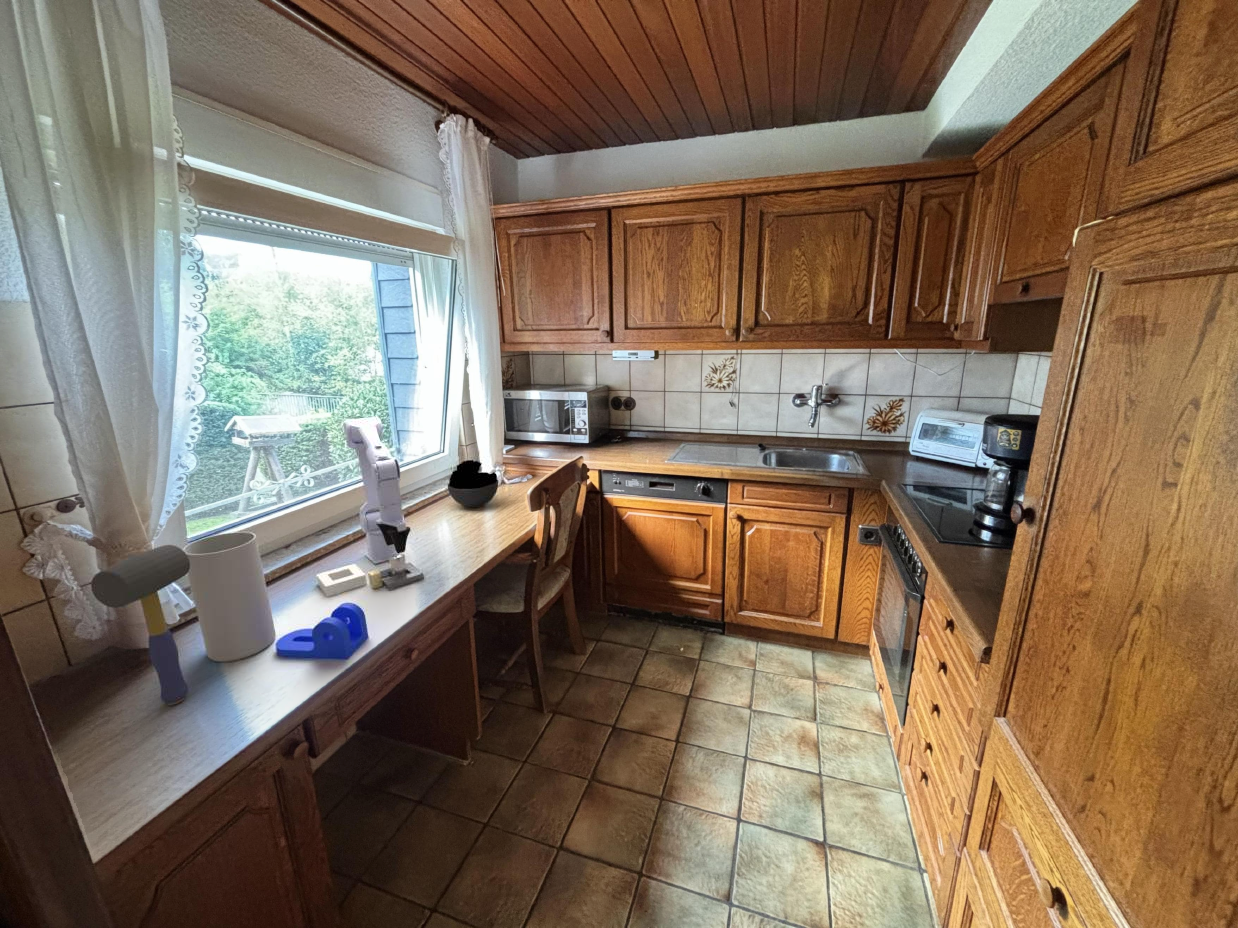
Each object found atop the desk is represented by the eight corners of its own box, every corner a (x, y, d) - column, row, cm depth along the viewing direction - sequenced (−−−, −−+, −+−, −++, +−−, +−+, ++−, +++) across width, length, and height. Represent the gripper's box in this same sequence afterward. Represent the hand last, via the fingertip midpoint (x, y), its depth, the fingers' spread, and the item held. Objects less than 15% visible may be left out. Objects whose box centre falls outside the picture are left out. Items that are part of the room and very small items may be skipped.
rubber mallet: (188, 678, 103) (153, 541, 96) (222, 680, 103) (190, 541, 95) (125, 723, 91) (80, 570, 84) (163, 725, 90) (121, 571, 83)
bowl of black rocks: (487, 495, 222) (483, 454, 218) (508, 506, 207) (505, 461, 203) (442, 505, 210) (437, 461, 205) (461, 517, 195) (457, 470, 190)
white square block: (317, 584, 143) (316, 574, 142) (355, 573, 149) (354, 563, 149) (327, 596, 136) (325, 586, 135) (366, 584, 142) (365, 574, 142)
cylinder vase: (194, 656, 110) (167, 550, 104) (251, 626, 122) (230, 529, 116) (233, 668, 106) (208, 558, 100) (289, 636, 118) (269, 535, 112)
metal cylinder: (390, 578, 146) (387, 556, 144) (404, 574, 148) (401, 552, 147) (395, 583, 143) (392, 560, 141) (409, 578, 145) (406, 556, 144)
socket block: (375, 578, 146) (374, 572, 145) (410, 567, 152) (409, 562, 152) (388, 590, 139) (387, 584, 138) (424, 578, 145) (423, 572, 145)
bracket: (368, 638, 117) (363, 602, 114) (347, 660, 109) (340, 622, 106) (294, 635, 118) (288, 600, 116) (268, 657, 110) (260, 620, 108)
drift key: (369, 585, 141) (367, 571, 140) (388, 579, 145) (386, 566, 144) (373, 588, 139) (371, 575, 138) (392, 582, 143) (390, 569, 142)
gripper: (366, 500, 143) (372, 545, 146) (384, 511, 132) (390, 560, 135) (391, 494, 147) (397, 538, 150) (411, 505, 137) (416, 552, 140)
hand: (395, 548), depth 143 cm, fingers open, 7 cm apart
